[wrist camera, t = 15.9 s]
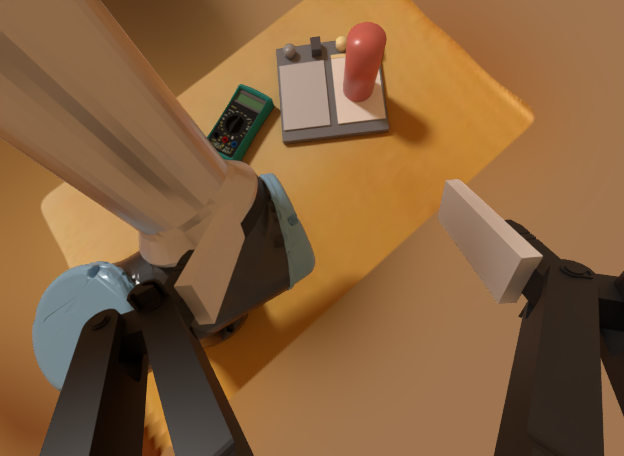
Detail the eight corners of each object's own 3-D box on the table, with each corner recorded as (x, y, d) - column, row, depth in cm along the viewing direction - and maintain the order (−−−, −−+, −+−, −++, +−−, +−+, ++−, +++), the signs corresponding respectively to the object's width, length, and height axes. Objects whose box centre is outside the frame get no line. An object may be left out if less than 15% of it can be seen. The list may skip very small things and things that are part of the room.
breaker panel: (283, 144, 46) (281, 137, 44) (277, 53, 49) (274, 41, 47) (387, 131, 45) (391, 123, 42) (375, 39, 48) (377, 26, 45)
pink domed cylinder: (344, 103, 45) (348, 58, 35) (341, 75, 46) (345, 24, 36) (374, 100, 45) (388, 54, 35) (371, 72, 46) (384, 19, 36)
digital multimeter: (204, 154, 48) (196, 147, 45) (244, 90, 49) (239, 79, 46) (236, 172, 47) (230, 166, 44) (276, 106, 48) (272, 96, 45)
